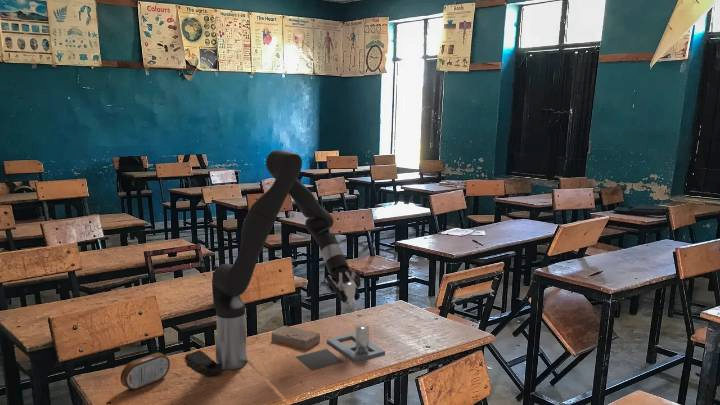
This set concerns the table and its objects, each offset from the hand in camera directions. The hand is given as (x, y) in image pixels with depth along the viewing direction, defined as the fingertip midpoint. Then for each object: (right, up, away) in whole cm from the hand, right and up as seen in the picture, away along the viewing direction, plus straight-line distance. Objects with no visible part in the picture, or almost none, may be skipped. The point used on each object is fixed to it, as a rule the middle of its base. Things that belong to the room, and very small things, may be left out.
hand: (351, 300), depth 187 cm
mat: (-11, -19, -9) cm, 23 cm away
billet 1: (-1, -4, +2) cm, 5 cm away
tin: (-62, -21, -24) cm, 70 cm away
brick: (-21, -17, +6) cm, 27 cm away
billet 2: (+4, -18, -3) cm, 19 cm away
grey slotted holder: (+1, -18, 0) cm, 18 cm away
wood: (-49, -20, -12) cm, 54 cm away
